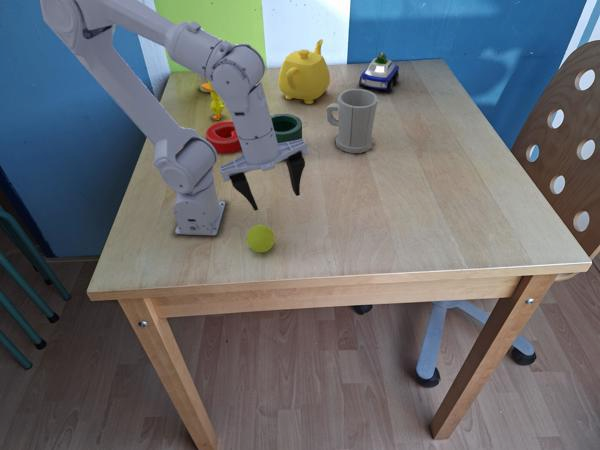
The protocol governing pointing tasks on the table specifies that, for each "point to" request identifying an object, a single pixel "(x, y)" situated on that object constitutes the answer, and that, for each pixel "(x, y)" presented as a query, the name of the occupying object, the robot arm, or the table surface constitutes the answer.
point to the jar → (287, 127)
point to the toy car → (380, 74)
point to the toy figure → (214, 101)
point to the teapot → (304, 75)
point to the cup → (354, 119)
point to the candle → (202, 82)
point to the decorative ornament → (223, 137)
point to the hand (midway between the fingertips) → (275, 199)
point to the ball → (260, 238)
